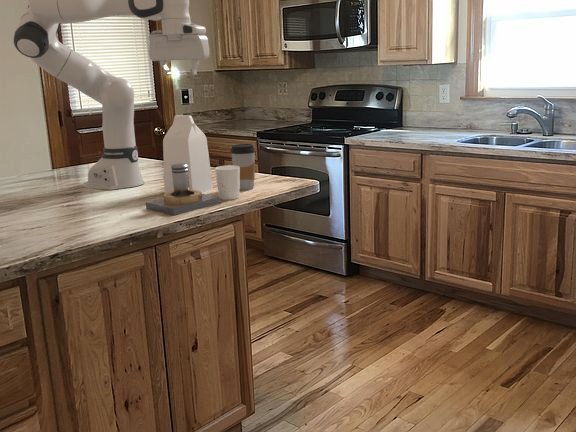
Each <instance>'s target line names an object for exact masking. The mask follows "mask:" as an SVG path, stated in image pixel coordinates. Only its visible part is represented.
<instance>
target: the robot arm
mask: <svg viewBox="0 0 576 432" xmlns="http://www.w3.org/2000/svg"><path fill="white" fill-rule="evenodd" d="M189 8H190V0H28V5H27V8H26V10H25V11H24V12H23V14H22V16H21V18H20V20H19V23H18V24H17V25H18V26H17V28H16V30H15V31H14V36H13V45H14V47H15V49H16V50H17V51H18V52H19V53H20V54H21V55H23V56H25V57H28V58H29V59H31V60H32V62H34V64H36V65H37V66H39V68H41V69H42V70H44V71H45V72H46V73H48V74H49V75H51V76H52V77H55V78H56V79H58V80H60V81H61V82H64V83H66V85H69V86H70V87H72V88H74V89H76V90H77V91H79V92H81V94H84V95H86V96H87V97H89V98H91V99H92V100H94V101H96V102H97V103H98V104H99V103H100V104H101V105H102V125H101V127H102V128H101V129H102V134H103V144H104V147H103V148H102V149H100V150H98V154H101V158H99V160H98V161H97V162H95V163H94V165H92V166H91V167H89V170H88V173H87V181H85V182H83V183H82V184H81V188H86V189H97V190H98V189H99V190H106V191H107V190H109V191H113V190H119V189H126V188H127V189H129V188H132V187H133V188H134V187H137V186H141V185H143V184H145V182H144V179H143V175H142V173H141V170H140V166H139V151H138V150H139V149H138V146H137V145H136V136H135V134H136V133H135V125H134V123H135V122H134V119H135V91H134V88H133V86H132V85H131V82H129V81H128V80H127V79H125V78H122V77H117V76H115V75H113V74H111V73H110V72H108V71H107V70H105V69H104V68H102V67H100V66H99V65H98V64H96V63H95V62H93V60H90V59H89V58H87V57H86V56H84V55H82V54H80V53H79V52H77V51H75V50H73V49H72V48H71V47H69V46H67V45H65V44H63V43H61V42H60V40H58V37H57V34H58V33H59V32H60V27H61V24H78V23H84V22H90V21H93V20H99V19H103V18H109V17H122V16H123V17H131V16H133V17H134V16H135V17H137V18H139V19H142V20H148V21H149V20H150V21H154V22H160V23H161V29H160V30H153V31H152V32H150V33H149V35H148V40H149V44H148V45H149V46H148V47H149V48H148V53H149V59H150V60H151V62H159V64H160V67H161V69H163V74H164V76H165V77H167V76H170V77H171V76H172V69H169V67H168V64H169V63H168V61H189V60H191V63H192V64H193V65H192V66H191V67H192V68H190V69H189V72H190V73H189V75H190V76H197V74H198V70H197V69H198V67H199V65H200V60H208V59H209V57H210V54H211V53H210V51H211V50H210V44H209V39H208V37H207V36H206V35H205V34H207V28H206V26H203V25H198V24H197V23H193V22H192V21H191V20H192V19H191V15H190V11H189Z"/></svg>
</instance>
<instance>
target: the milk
mask: <svg viewBox="0 0 576 432" xmlns="http://www.w3.org/2000/svg"><path fill="white" fill-rule="evenodd" d="M162 151H163V152H162V153H163V181H164V194H165V193H167V192H170V191H174V188H173V178H172V169H171V165H173V164H179V163H186V164H188V172H189V183H190V189H193V190H199V191H201V192H202V194H205V193H206V192H209V191H212V190H214V187H213V186H214V185H213V179H212V177H213V176H212V169H211V163H210V155H209V147H208V139H207V136H206V135H205V133H204V132H203V130H201V129H200V127H199V126H197V124H196V123H195V121H194V119H193V117H192V115H185V114H184V115H180V114H179V115H178V114H177V115H174V117H173V121H172V125H171V126H170V128H169V129H168V131H166V134H165V135H164V137H163V140H162Z"/></svg>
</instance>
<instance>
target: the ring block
mask: <svg viewBox="0 0 576 432" xmlns="http://www.w3.org/2000/svg"><path fill="white" fill-rule="evenodd" d="M190 194H191V195H188V196H174V191H170V192H167V193H165V192H164V193H163V197H162V198H159V199H155V200H150V201H146V202H145V208H146V210H149V211H154V212H158V213H162V212H163V213H164V214H167V215H171V216H176V215H180V214H184V213H185V214H186V213H188V212H191V211H195V210H199V209H203V208H207V207H210V206H215V205H218V204H221V199H220V197H219V196H215V195H210V194H205V193H202V192H201V191H199V190H193V189H190ZM163 213H162V214H163Z"/></svg>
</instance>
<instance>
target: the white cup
mask: <svg viewBox="0 0 576 432" xmlns="http://www.w3.org/2000/svg"><path fill="white" fill-rule="evenodd" d="M214 170H215V178H216V186H217V193H218V197H220V200H223V201H224V200H225V201H227V200H228V201H230V200H236V199H239V198H240V191H241V190H239V189H240V167H239V166H235V165H233V164H232V165H231V164H229V165H228V164H227V165H220V166H217V167H215V169H214Z"/></svg>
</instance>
